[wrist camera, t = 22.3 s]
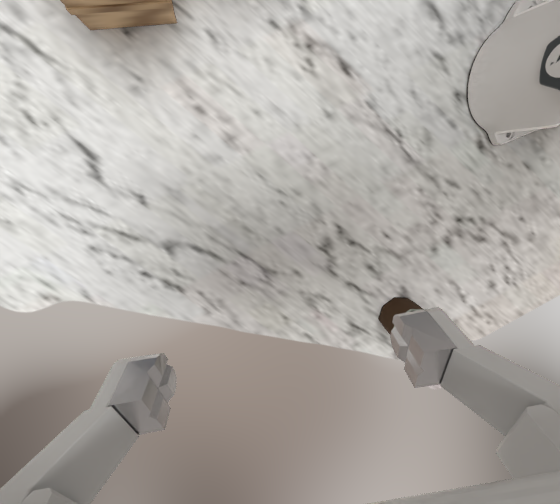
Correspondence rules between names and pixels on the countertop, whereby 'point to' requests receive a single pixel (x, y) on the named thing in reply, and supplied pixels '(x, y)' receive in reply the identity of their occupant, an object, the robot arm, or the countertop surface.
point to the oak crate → (121, 12)
